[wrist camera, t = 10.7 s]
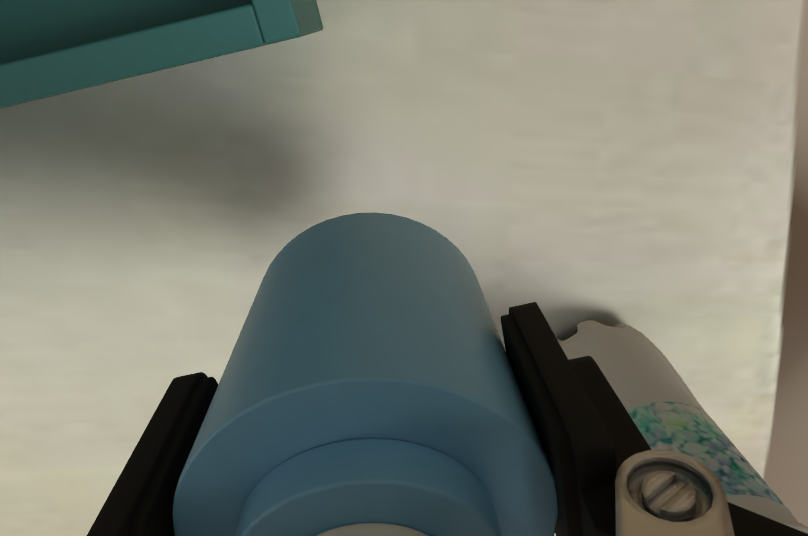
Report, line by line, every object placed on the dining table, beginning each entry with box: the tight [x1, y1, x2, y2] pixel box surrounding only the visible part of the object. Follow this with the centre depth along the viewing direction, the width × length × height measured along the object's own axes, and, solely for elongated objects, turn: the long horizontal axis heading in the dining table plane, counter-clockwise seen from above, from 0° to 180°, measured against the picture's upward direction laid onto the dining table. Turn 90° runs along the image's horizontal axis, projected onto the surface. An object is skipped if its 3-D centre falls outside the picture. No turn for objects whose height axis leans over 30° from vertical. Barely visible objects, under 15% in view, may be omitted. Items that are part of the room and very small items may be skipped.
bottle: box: [556, 320, 808, 534], centre depth 18 cm, size 7×7×20 cm
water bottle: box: [172, 213, 558, 536], centre depth 10 cm, size 6×6×8 cm
